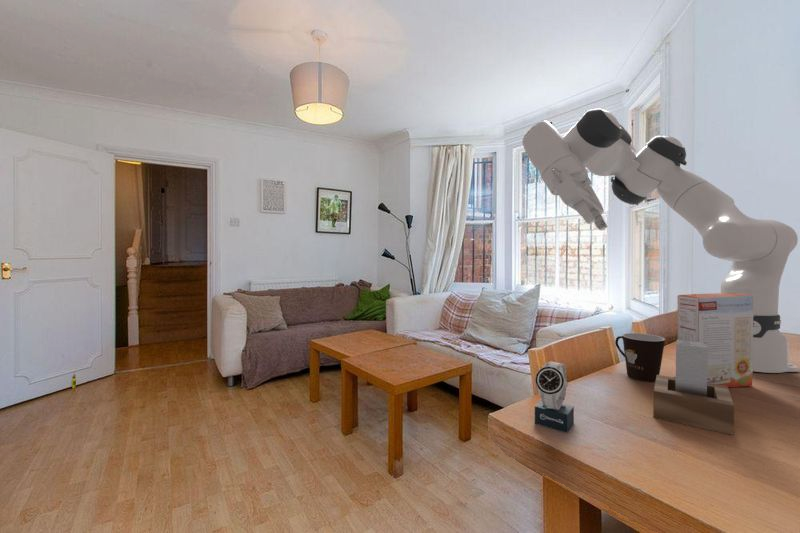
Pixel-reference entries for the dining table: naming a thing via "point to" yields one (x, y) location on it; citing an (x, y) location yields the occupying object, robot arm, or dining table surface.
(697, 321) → the cracker box
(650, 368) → the coffee mug
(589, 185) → the robot arm
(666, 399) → the well block
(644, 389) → the dining table surface
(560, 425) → the watch
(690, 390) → the grey brushed metal pillar
